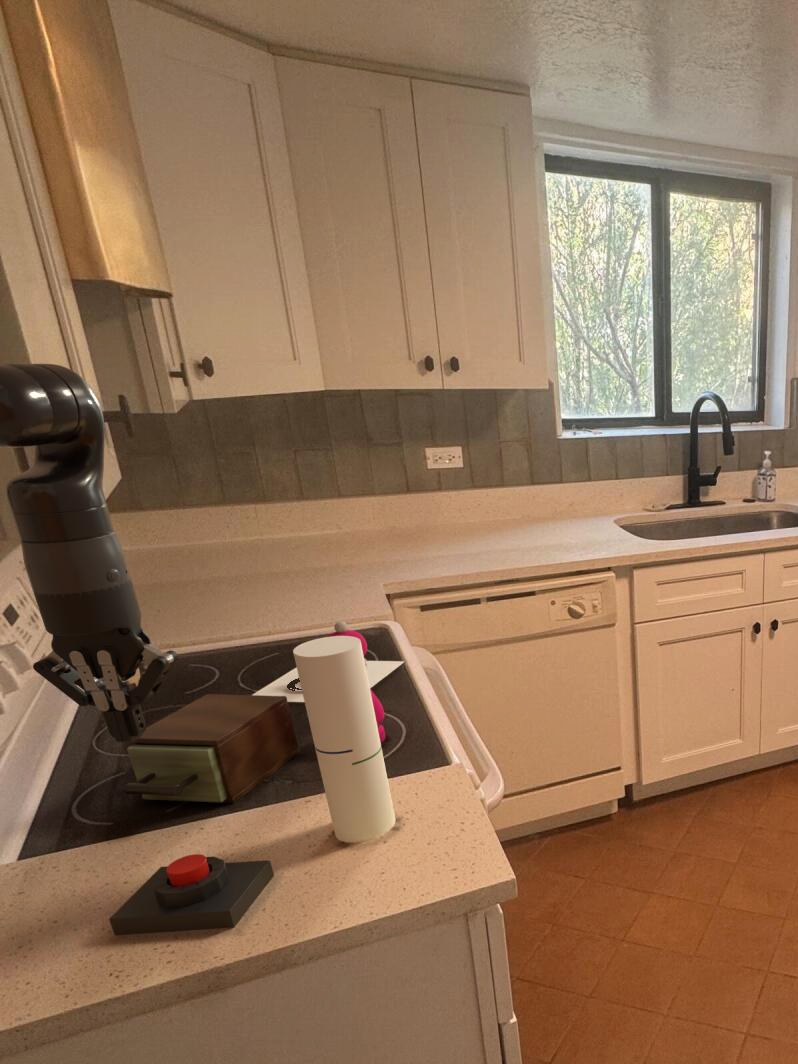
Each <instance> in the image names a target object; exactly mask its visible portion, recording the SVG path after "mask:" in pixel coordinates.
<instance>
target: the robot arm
mask: <svg viewBox="0 0 798 1064" xmlns="http://www.w3.org/2000/svg"><path fill="white" fill-rule="evenodd" d="M28 447H34V455H33V462H32V463H33V464H32V466H31V467H30V468H29V469H27V470H26V471H23V472H21V473H19V474H17V475H15V476H13V477H11V478H10V479H9V480H8V481H7V482H6V483H5V488H4V491H5V492H4V493H5V498H6V501H7V505H8V508H9V511H10V514H11V517H12V521H13V523H14V526H15V529H16V532H17V535H18V538H19V542H20V546H21V551H22V559H23V564H24V568H25V571H26V574H27V577H28V581H29V583H30V586H31V589H32V593H33V595H34V598H35V601H36V604H37V607H38V611H39V613H40V614H39V615H40V617H41V619H42V623H43V626H44V629H45V631H46V632H47V633H48V634H51V635H52V639H51V644H50V647H51V649H52V650H51V652H50V653H48V654H47V655H46V656H45V657H43V658H41V659H40V660H38V661H35V662H34V663H33V664H32V669H33V670H34V671H35V672H36V673H37V674H38V675H39V676H40V677H42V678H44V679H45V680H46V681H47V682H49V683H50V684H51V685H52V686H54V687H55V688H57V690H59V691H60V692H61V693H63V694H64V695H66V696H67V697H68V698H69V699H70V700H72V701H73V702H74V703H76V704H77V705H79V706H81V707H87V706H93V707H96V709H98V710H99V711H101V712H102V714H103V717H104V721H105V724H106V727H107V729H108V730H107V731H108V733H109V734H110V736H111V737H112V738H114V739H115V740H114V741H116V742H117V743H129V742H134V741H135V740H137V739H138V738H139V737H141V736H142V735H143V733H144V731H145V730H146V728H147V723H146V719H145V716H144V712H143V709H142V706H141V705H142V704H143V703H145V702H147V701H148V700H149V699H151V698H152V697H154V696H156V695H157V694H158V693H159V691H160V689H161V687H162V686H163V684H164V682H165V681H166V679H167V678H168V676H169V675H170V673H171V671H172V670H173V668H174V666H175V664H176V663H177V661H178V659H179V654H178V653H177V652H176V651H175V650H168V651H166V652H165V651H163V650H162V649H160V648H157V647H156V646H155V645H152V642H151V638H150V636H149V635H148V634H147V633H146V632H145V630H144V629H143V627H142V611H141V609H140V604H139V602H138V601H139V600H138V597H137V594H136V590H135V587H134V582H133V579H132V576H131V573H130V569H129V566H128V561H127V558H126V554H125V552H124V549H123V547H122V545H121V543H120V540H119V539H118V537H117V534H116V531H115V528H114V523H113V521H112V517H111V514H110V511H109V506H108V504H107V500H106V496H105V494H104V490H103V489H104V488H103V485H104V484H103V481H104V471H105V417H104V412H103V409H102V405H101V403H100V400H99V399H98V397H97V395H96V393H95V392H94V389H93V388H92V387H91V386H90V385H89V383H88V382H87V380H85V379H84V378H83V377H82V376H81V375H79V374H78V373H77V372H76V371H74V370H72V369H70V368H68V367H66V366H63V365H59V364H53V363H0V448H6V449H7V448H8V449H9V448H10V449H17V448H18V449H19V448H28ZM142 662H143V666H142V668H143V670H145V672H144V674H143V675H142V676H141V671H140V666H141V664H142Z"/></svg>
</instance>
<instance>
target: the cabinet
mask: <svg viewBox="0 0 798 1064" xmlns="http://www.w3.org/2000/svg"><path fill="white" fill-rule="evenodd" d="M290 710H291V709H290V707H289V702H288V701H287V697H286V696H260V695H253V694H222V693H221V694H219V693H218V694H217V693H206V694H205V695H203V696H201V697H199V698H197V699H195V700H194V701H192V702H189V704H187V705H185V706H183V707H181V708H179V709H177V710H176V711H173V712H172V713H170V714H168V715H167V716H165V717H163V718H161V719H160V720H158V721H156V722H154V723H152V724H151V725H148V726H146V730H145V731H144V733H143V735H142V736H141V737H139V738H138V739H137V740H135V741H134V742H128V743H129V747H130V746H132V745H134V744H136V745H148V744H173V745H203V746H213V747H214V750H215V754H216V757H217V761H218V764H219V768H220V772H221V775H222V779H223V782H224V786H225V790H226V793H227V797H228V798H227V799H225V800H224V801H223V802H208V803H211V804H213V803H214V804H216V803H217V804H235V803H237V802H238V801H239V800H240V799H242V798H243V797H244V796H245V795H247V794H248V793H249V792H251V791H252V790H253V789H254V788H256V787H257V786H258V785H260V784H261V783H263V782H264V781H265V780H267V779H268V778H269V777H270V776H272V775H273V774H274V773H276V772H277V771H278V770H279V769H281V768H282V767H283V766H285V765H286V764H287V763H288V762H290V761H291V760H292V759H293V758H295V757H297V756H298V755H299V754H300V749H299V745H298V740H297V736H296V735H297V734H296V732H295V728H294V724H293V719H292V715H291V711H290ZM147 801H151V800H150V799H147ZM157 801H161V802H162V801H163V802H177V801H176V800H157ZM185 802H187V803H188V802H189V803H203V802H202V801H183V803H185Z"/></svg>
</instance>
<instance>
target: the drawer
mask: <svg viewBox="0 0 798 1064" xmlns="http://www.w3.org/2000/svg"><path fill="white" fill-rule="evenodd" d="M126 751H127V754H128V757H129V760H130V764H131V767H132V770H133V773H134V776H135V779H136V781H135V782H128V783H126V784H125V785H124V787H123V791H124V793H125V794H127V795H141V798H142V800H148V799H150V800H149V801H158V800H176V801H175V802H184V801H202V802H201V803H209V802H223V801H224V800H225V799H227V798H228V797H227V793H226V790H225V786H224V782H223V779H222V775H221V772H220V768H219V764H218V761H217V757H216V754H215V750H214V747H213V746H203V745H173V744H148V745H136V744H134V745H132V746H130V745H129V746H128V747H127V748H126Z"/></svg>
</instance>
